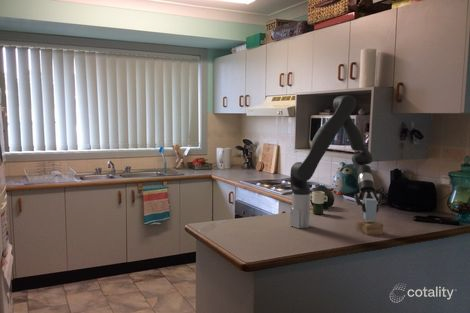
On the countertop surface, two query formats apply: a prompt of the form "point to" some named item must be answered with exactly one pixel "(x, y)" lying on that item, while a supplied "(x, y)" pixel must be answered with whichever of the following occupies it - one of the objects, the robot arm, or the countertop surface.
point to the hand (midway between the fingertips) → (370, 211)
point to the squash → (329, 195)
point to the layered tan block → (369, 227)
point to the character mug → (318, 201)
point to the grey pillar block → (370, 209)
